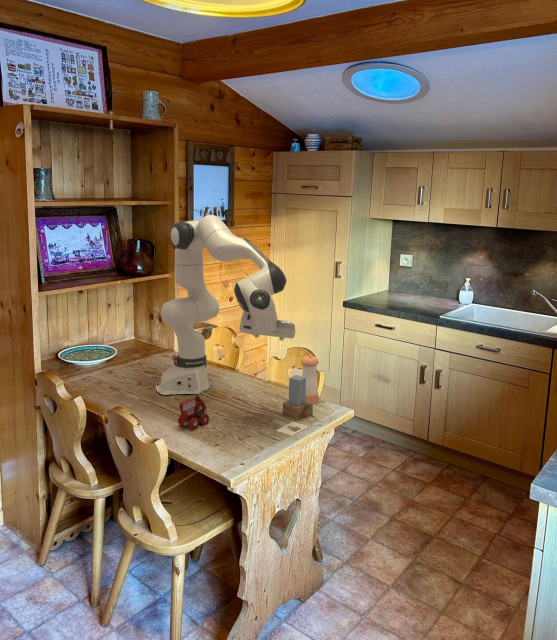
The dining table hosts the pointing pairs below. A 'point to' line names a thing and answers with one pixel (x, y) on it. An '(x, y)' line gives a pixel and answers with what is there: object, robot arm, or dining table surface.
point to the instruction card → (292, 428)
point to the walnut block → (297, 410)
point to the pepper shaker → (310, 377)
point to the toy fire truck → (193, 413)
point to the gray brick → (297, 390)
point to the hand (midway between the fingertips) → (269, 337)
